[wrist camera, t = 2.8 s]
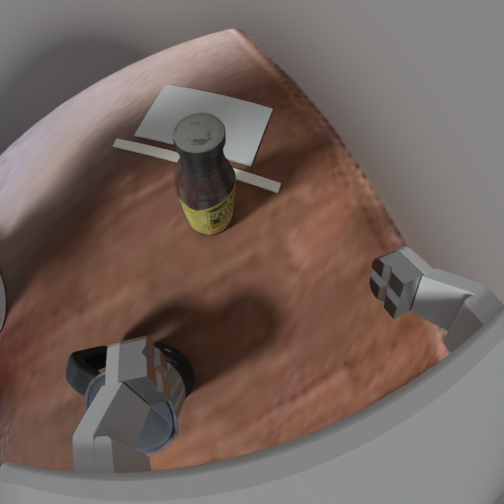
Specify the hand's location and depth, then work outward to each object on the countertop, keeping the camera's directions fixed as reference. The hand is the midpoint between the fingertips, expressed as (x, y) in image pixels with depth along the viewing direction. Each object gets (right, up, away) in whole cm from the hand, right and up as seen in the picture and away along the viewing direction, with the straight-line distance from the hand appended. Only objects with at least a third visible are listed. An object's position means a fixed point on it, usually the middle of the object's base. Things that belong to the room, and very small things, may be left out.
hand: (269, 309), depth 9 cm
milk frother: (-16, -18, +24) cm, 34 cm away
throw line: (-10, +16, +30) cm, 35 cm away
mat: (-8, +23, +32) cm, 40 cm away
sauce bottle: (-6, +7, +29) cm, 31 cm away
